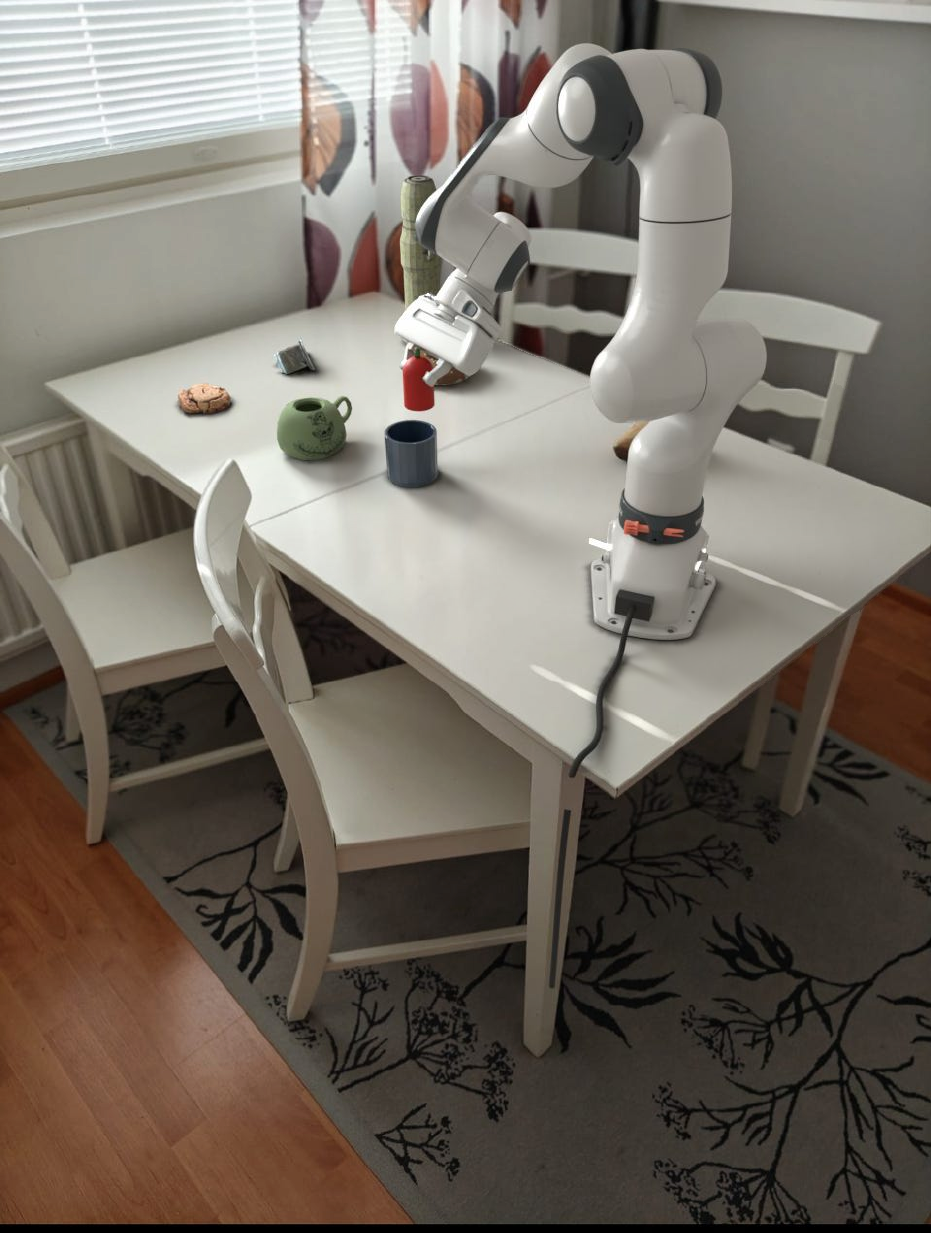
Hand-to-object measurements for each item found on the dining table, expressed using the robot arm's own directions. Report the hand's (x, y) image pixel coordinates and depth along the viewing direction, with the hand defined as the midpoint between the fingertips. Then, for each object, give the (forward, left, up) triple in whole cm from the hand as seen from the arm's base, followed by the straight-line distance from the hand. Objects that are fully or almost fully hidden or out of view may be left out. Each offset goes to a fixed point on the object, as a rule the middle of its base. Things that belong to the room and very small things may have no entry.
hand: (415, 377), depth 167 cm
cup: (-1, +1, -18) cm, 18 cm away
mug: (+6, +21, -18) cm, 28 cm away
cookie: (+17, +50, -18) cm, 56 cm away
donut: (+41, +7, -18) cm, 45 cm away
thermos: (+58, +16, -18) cm, 62 cm away
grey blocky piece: (+39, +40, -18) cm, 58 cm away
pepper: (+1, 0, -5) cm, 5 cm away
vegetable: (+16, -40, -18) cm, 47 cm away
